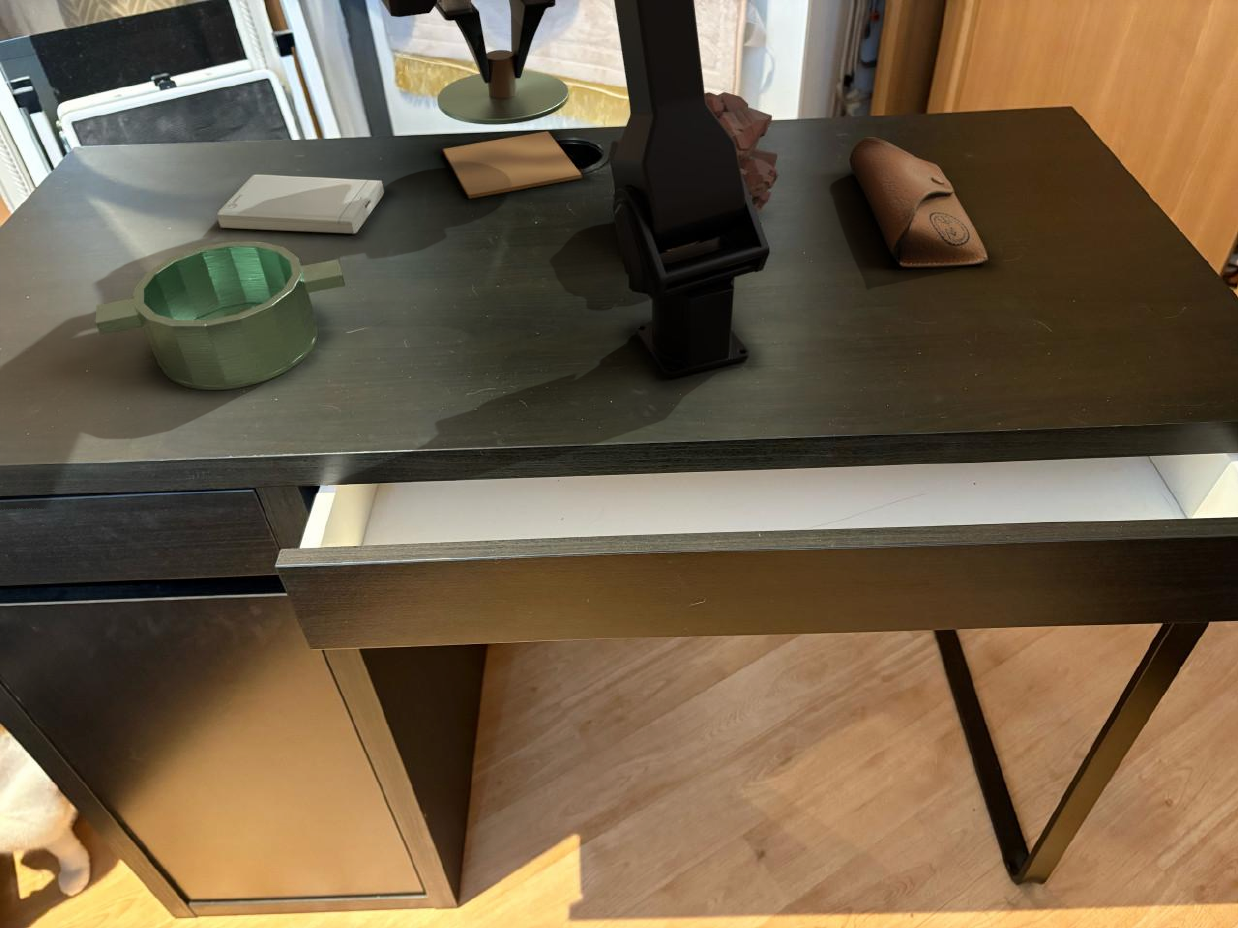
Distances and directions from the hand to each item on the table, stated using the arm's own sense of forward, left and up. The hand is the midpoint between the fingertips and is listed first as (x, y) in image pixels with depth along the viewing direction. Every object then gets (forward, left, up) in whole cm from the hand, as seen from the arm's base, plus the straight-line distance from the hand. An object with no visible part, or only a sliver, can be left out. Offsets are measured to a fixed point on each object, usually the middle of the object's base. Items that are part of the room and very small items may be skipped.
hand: (501, 79), depth 88 cm
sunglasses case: (-24, -30, -9) cm, 39 cm away
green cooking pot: (-22, +27, -8) cm, 36 cm away
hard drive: (-2, +20, -9) cm, 22 cm away
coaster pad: (0, 0, -8) cm, 8 cm away
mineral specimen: (-19, -12, -9) cm, 24 cm away
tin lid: (0, 0, -2) cm, 2 cm away
